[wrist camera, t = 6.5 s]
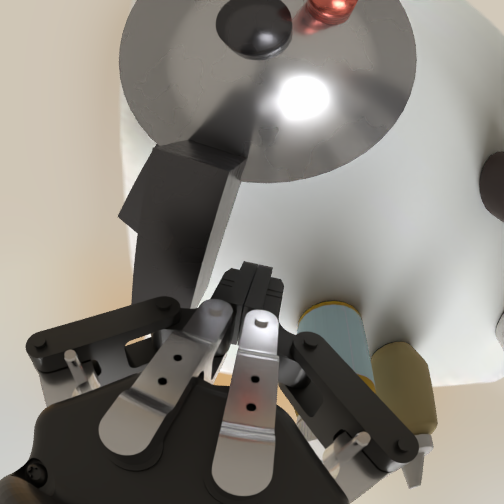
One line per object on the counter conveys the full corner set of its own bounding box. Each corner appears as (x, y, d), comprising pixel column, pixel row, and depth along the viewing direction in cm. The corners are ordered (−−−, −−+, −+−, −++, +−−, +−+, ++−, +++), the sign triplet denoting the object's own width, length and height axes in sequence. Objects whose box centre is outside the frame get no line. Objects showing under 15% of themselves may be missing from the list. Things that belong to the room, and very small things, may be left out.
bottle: (369, 301, 26) (399, 430, 13) (349, 347, 30) (359, 464, 16) (305, 292, 27) (300, 429, 14) (292, 340, 30) (280, 461, 17)
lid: (184, -63, 7) (152, -97, 2) (430, -1, 7) (468, -29, 3) (95, 233, 17) (52, 265, 13) (297, 313, 17) (294, 370, 13)
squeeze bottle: (378, 329, 28) (406, 479, 12) (431, 337, 27) (471, 463, 11) (351, 372, 32) (357, 501, 16) (401, 377, 31) (420, 491, 15)
